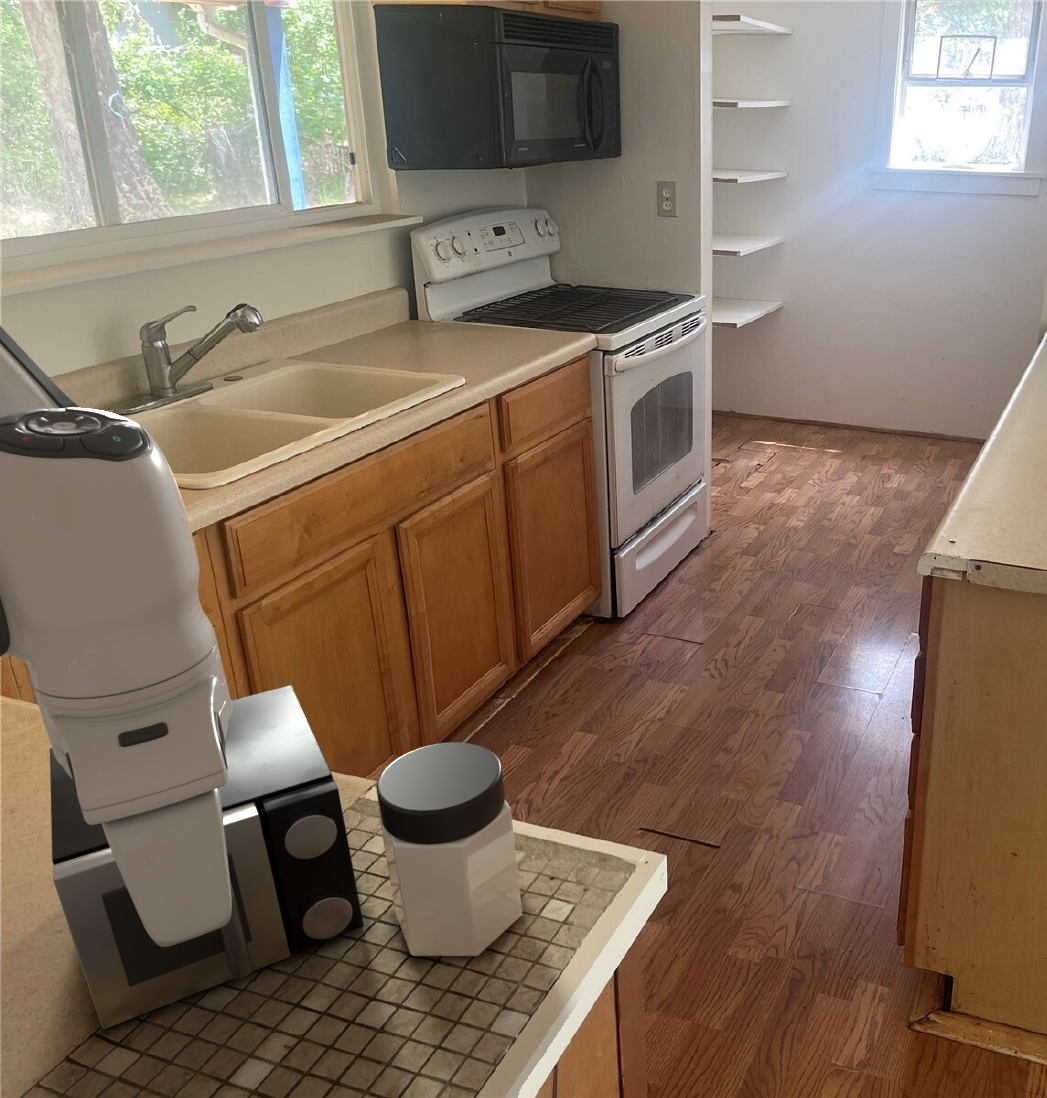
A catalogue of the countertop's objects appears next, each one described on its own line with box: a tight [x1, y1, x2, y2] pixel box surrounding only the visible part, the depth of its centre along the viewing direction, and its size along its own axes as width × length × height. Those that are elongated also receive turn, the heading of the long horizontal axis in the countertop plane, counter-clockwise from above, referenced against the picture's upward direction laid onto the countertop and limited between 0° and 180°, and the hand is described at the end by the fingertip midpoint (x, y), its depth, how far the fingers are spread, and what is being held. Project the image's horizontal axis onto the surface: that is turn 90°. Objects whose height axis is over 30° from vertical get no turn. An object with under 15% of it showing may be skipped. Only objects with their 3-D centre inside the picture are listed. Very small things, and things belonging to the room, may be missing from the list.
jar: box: [376, 742, 523, 957], centre depth 71 cm, size 9×8×12 cm
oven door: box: [52, 802, 291, 1030], centre depth 64 cm, size 5×11×12 cm, turn 123°
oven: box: [49, 684, 365, 953], centre depth 71 cm, size 16×16×12 cm
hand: (193, 902), depth 62 cm, fingers closed
